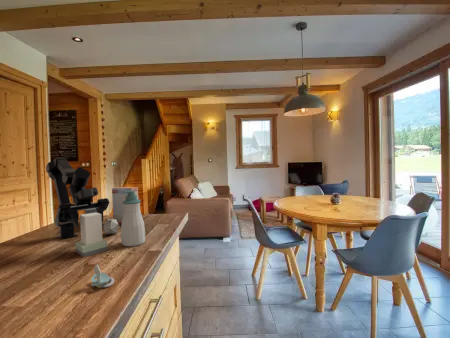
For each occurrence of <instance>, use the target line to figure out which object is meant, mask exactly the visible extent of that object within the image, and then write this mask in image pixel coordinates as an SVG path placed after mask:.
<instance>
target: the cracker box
mask: <svg viewBox="0 0 450 338" xmlns="http://www.w3.org/2000/svg"><path fill="white" fill-rule="evenodd" d="M127 191H135V195H137V199H139V187H138V186H116V187H112V188H111V195H112V196H111V197H112V219H116V218H117V219H116V220H117V222H118V224H120V225H122V220H123V215H124V203H123V201H125V200H126V196H128V193H122V192H127Z"/></svg>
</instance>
